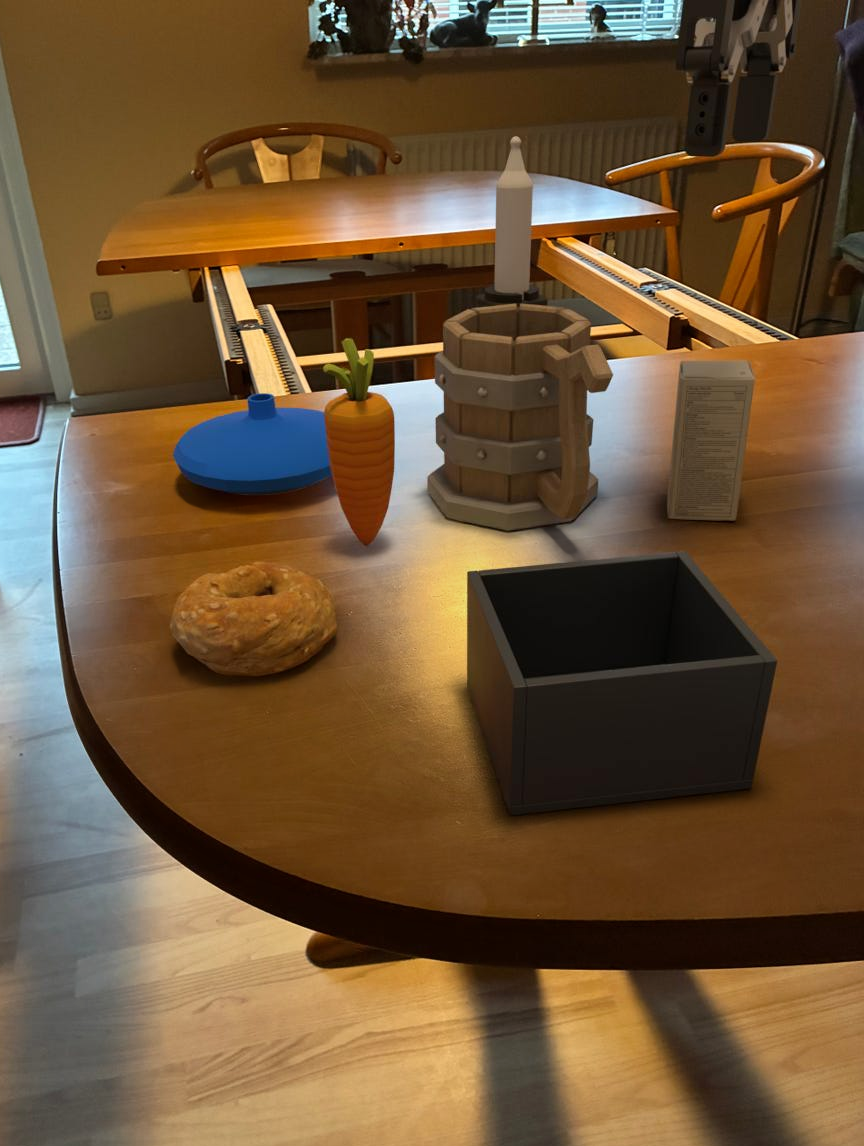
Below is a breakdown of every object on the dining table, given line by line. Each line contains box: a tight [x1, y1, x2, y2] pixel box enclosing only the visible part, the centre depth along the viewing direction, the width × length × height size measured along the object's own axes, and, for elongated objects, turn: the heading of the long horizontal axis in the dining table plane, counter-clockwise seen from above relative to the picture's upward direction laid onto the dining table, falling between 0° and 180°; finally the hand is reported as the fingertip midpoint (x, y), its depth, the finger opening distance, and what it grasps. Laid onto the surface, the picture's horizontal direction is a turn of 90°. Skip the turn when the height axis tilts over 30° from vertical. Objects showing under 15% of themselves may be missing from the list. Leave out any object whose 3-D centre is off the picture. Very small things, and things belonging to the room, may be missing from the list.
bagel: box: [169, 561, 338, 677], centre depth 61 cm, size 10×11×5 cm
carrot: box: [322, 338, 396, 547], centre depth 69 cm, size 5×5×15 cm
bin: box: [466, 550, 778, 816], centre depth 51 cm, size 12×11×8 cm
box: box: [666, 360, 756, 522], centre depth 73 cm, size 5×4×11 cm
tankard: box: [426, 304, 614, 532], centre depth 73 cm, size 20×13×15 cm, turn 14°
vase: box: [172, 392, 333, 496], centre depth 83 cm, size 16×16×7 cm
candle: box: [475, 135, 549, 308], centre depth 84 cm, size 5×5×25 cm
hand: (727, 148), depth 61 cm, fingers open, 8 cm apart
